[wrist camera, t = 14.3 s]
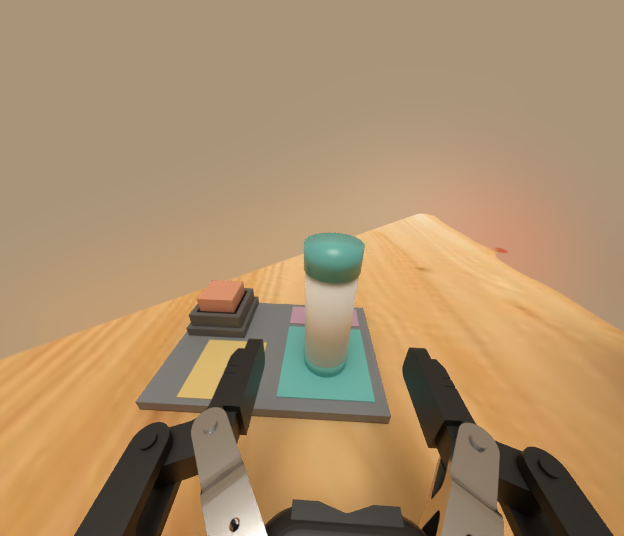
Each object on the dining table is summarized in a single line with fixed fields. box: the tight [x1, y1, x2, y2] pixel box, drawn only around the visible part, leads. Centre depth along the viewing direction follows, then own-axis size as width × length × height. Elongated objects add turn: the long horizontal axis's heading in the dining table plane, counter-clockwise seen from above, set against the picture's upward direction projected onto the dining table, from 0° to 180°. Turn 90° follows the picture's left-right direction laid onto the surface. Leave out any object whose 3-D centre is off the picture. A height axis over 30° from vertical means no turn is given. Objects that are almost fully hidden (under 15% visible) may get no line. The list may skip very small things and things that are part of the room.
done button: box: [197, 280, 245, 313], centre depth 24 cm, size 4×4×2 cm
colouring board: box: [136, 288, 391, 423], centre depth 22 cm, size 20×13×4 cm, turn 88°
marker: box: [304, 233, 364, 378], centre depth 18 cm, size 4×4×12 cm
